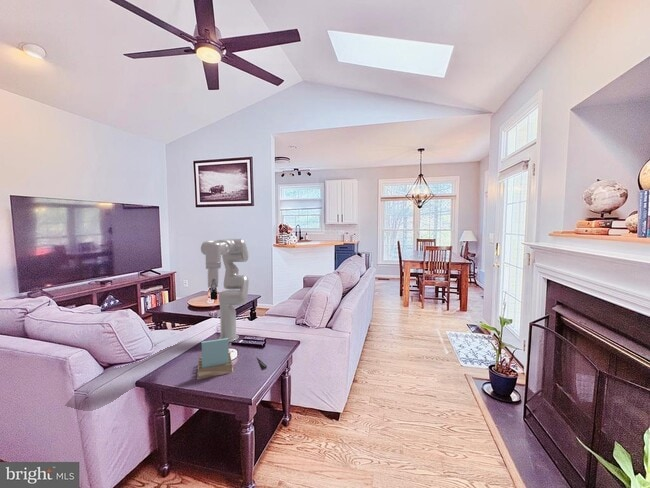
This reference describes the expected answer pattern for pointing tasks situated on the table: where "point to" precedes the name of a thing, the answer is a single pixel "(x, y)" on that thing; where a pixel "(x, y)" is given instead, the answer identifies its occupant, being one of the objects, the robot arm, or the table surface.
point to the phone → (261, 364)
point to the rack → (214, 369)
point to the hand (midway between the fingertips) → (213, 297)
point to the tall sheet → (215, 352)
